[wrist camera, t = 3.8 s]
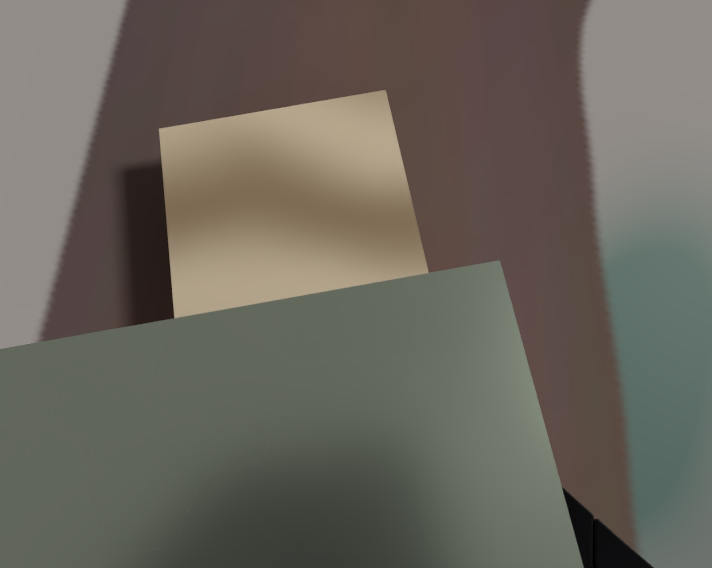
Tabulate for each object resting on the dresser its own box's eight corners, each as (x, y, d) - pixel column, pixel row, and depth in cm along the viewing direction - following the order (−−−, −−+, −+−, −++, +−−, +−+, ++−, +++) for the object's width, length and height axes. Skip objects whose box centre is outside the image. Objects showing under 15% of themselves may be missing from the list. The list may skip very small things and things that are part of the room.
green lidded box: (431, 525, 14) (749, 1175, 2) (263, 558, 14) (-241, 1407, 2) (397, 356, 15) (499, 259, 4) (244, 384, 15) (-136, 372, 4)
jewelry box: (424, 324, 16) (437, 310, 13) (211, 364, 16) (177, 358, 13) (381, 134, 18) (384, 86, 15) (191, 168, 18) (158, 125, 15)
